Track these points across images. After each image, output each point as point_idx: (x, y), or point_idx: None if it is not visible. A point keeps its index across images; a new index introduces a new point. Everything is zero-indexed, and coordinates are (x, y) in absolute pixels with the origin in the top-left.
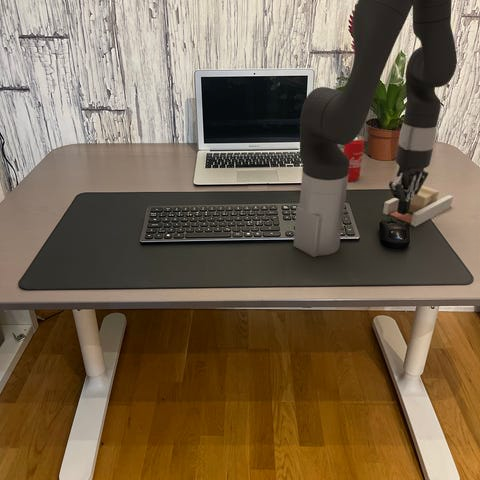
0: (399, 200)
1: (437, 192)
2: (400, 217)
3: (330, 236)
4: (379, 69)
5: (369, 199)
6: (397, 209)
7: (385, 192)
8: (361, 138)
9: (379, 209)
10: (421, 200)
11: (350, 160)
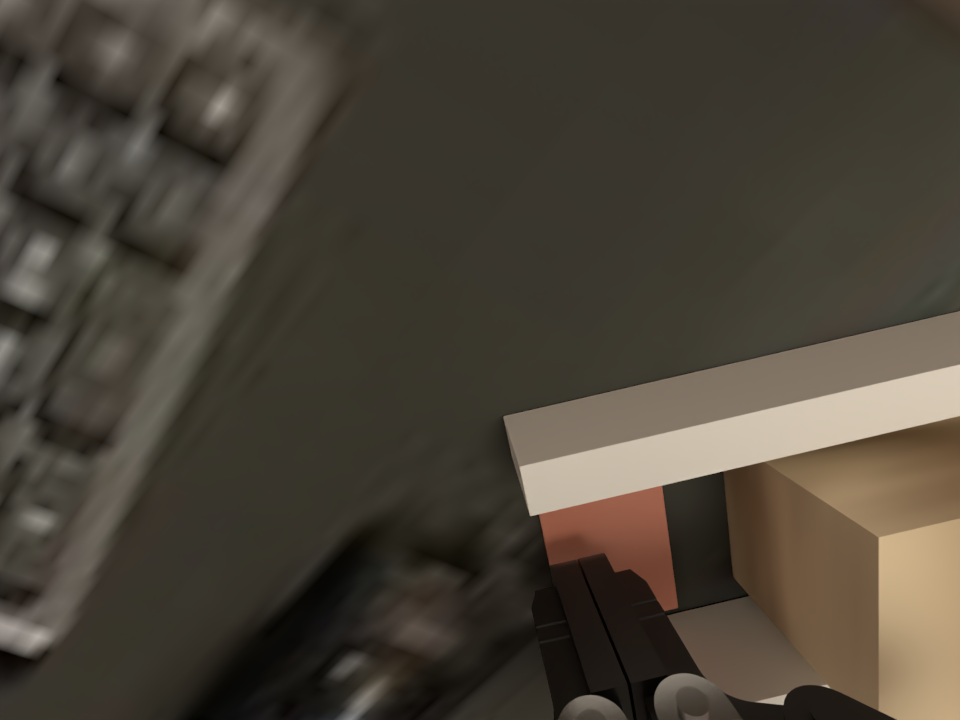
0: (554, 715)
1: None
2: (560, 553)
3: None
4: None
5: (605, 112)
6: (532, 609)
7: (883, 54)
8: None
9: (529, 344)
10: (838, 665)
11: None
